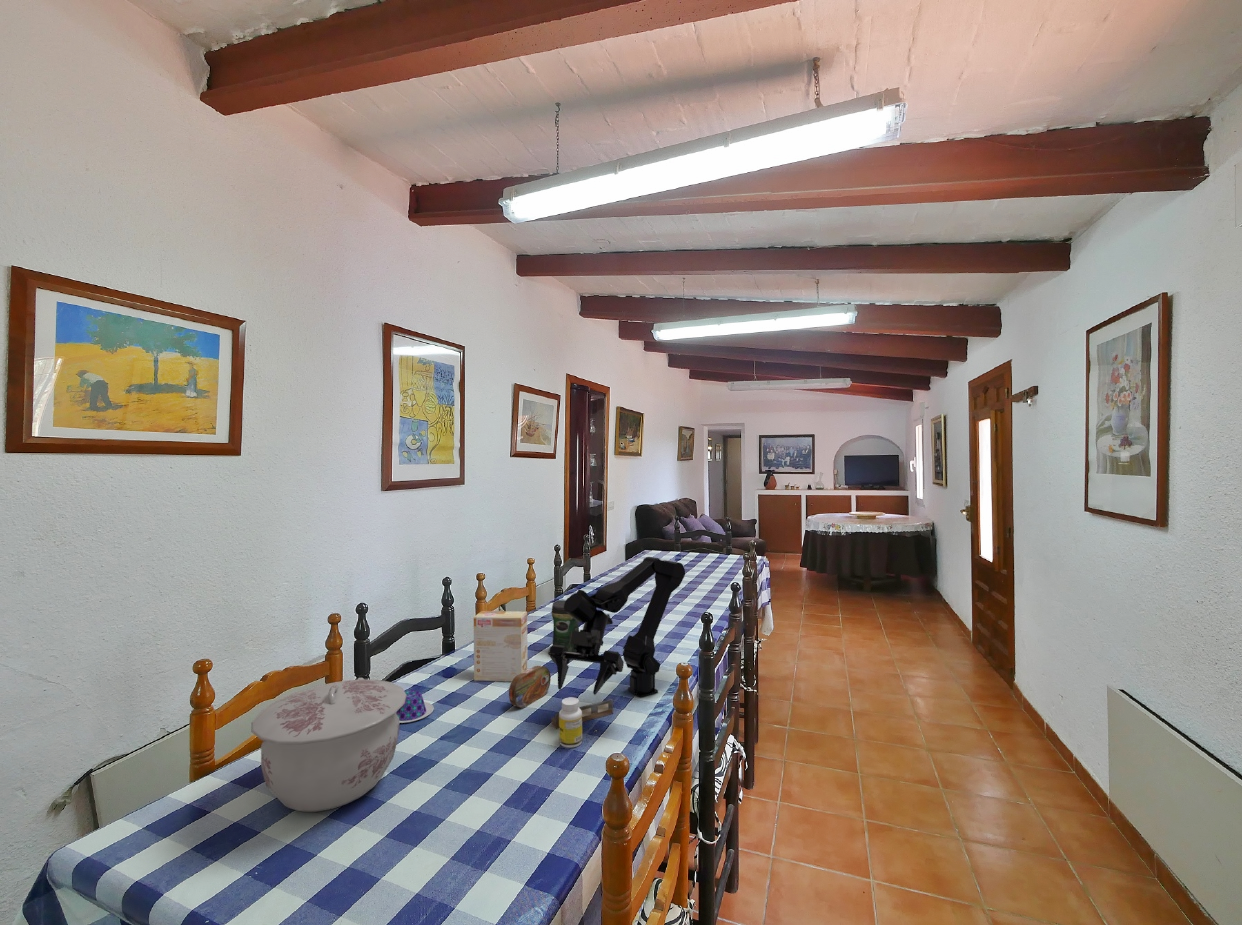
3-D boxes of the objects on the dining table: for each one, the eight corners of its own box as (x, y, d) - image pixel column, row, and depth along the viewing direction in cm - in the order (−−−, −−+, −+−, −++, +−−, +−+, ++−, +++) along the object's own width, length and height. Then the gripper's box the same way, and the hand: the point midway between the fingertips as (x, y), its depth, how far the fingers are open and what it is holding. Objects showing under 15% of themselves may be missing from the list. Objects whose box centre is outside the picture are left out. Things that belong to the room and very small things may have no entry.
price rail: (607, 708, 141) (607, 695, 141) (613, 713, 138) (613, 699, 138) (551, 723, 133) (551, 709, 133) (556, 729, 130) (556, 714, 130)
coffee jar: (583, 652, 184) (583, 598, 184) (575, 660, 176) (575, 604, 176) (558, 649, 187) (557, 597, 187) (548, 657, 179) (548, 602, 179)
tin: (515, 713, 139) (515, 680, 139) (506, 710, 141) (506, 678, 141) (551, 691, 152) (551, 662, 152) (543, 689, 154) (543, 660, 154)
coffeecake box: (528, 673, 166) (527, 610, 166) (521, 682, 159) (521, 617, 159) (481, 671, 167) (481, 609, 167) (473, 680, 160) (472, 616, 160)
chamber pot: (298, 858, 88) (297, 733, 88) (223, 803, 103) (223, 696, 103) (437, 774, 112) (436, 676, 112) (360, 739, 126) (360, 652, 126)
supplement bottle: (559, 737, 127) (559, 696, 127) (582, 735, 127) (582, 695, 127) (558, 749, 121) (558, 706, 122) (582, 747, 122) (582, 705, 122)
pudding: (377, 715, 139) (376, 695, 139) (421, 700, 148) (420, 681, 148) (396, 730, 131) (396, 709, 131) (442, 713, 140) (442, 693, 140)
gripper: (551, 613, 136) (530, 671, 126) (619, 619, 130) (604, 681, 120) (564, 634, 144) (545, 691, 133) (629, 641, 138) (615, 702, 127)
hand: (576, 691), depth 128 cm, fingers open, 9 cm apart
